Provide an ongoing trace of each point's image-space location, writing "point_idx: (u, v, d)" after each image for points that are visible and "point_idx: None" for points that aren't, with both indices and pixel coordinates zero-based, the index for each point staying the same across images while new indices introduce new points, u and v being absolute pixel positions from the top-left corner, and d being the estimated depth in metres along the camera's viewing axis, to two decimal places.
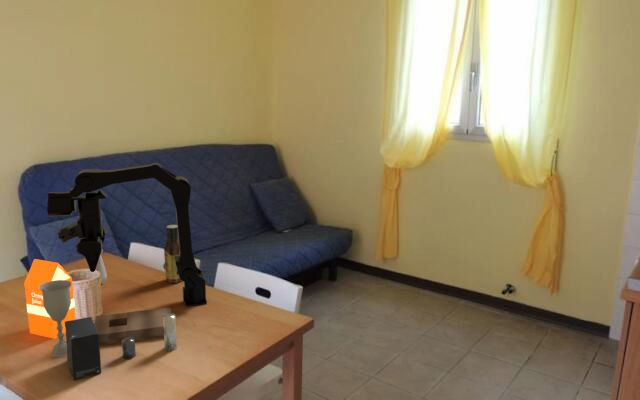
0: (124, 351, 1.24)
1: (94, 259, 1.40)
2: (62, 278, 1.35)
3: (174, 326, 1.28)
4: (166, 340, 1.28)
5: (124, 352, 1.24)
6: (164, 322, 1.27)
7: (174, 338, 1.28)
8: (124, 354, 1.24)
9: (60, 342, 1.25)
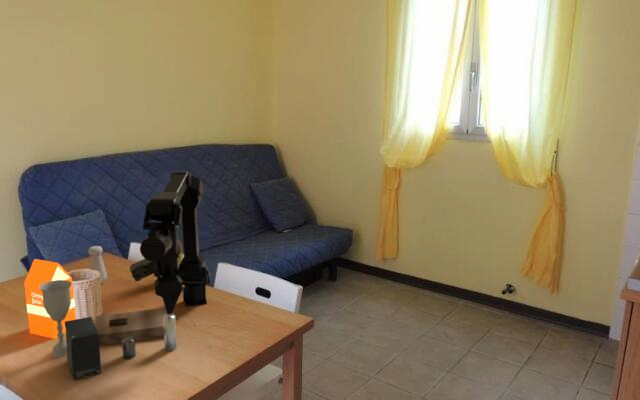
0: (124, 351, 1.24)
1: (173, 300, 1.21)
2: (62, 278, 1.35)
3: (174, 326, 1.28)
4: (166, 340, 1.28)
5: (124, 352, 1.24)
6: (164, 322, 1.27)
7: (174, 338, 1.28)
8: (124, 354, 1.24)
9: (60, 342, 1.25)
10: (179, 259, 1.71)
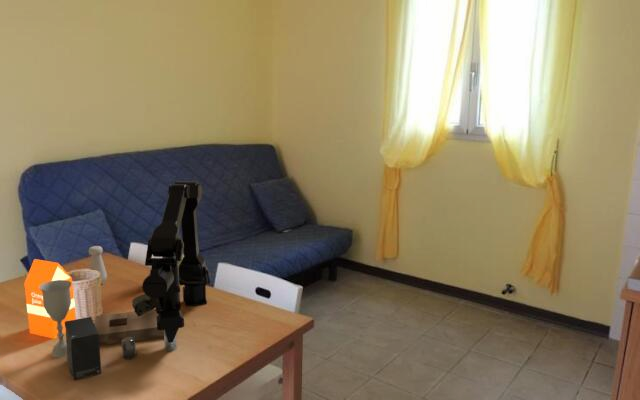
0: (124, 351, 1.24)
1: (173, 329, 1.26)
2: (62, 278, 1.35)
3: None
4: (166, 340, 1.28)
5: (124, 352, 1.24)
6: None
7: (174, 338, 1.28)
8: (124, 354, 1.24)
9: (60, 342, 1.25)
10: None
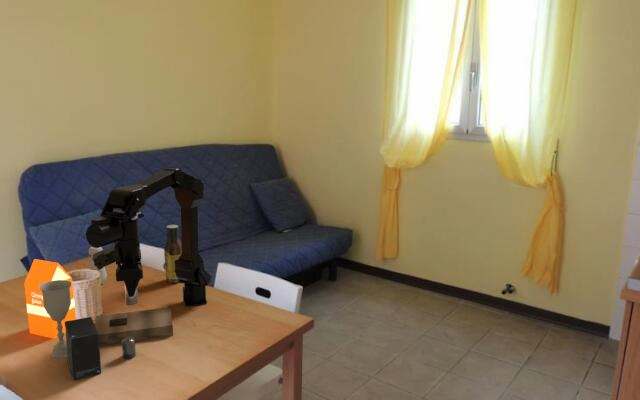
0: (124, 351, 1.24)
1: (134, 283, 1.29)
2: (62, 278, 1.35)
3: None
4: (127, 295, 1.31)
5: (124, 352, 1.24)
6: None
7: (135, 293, 1.31)
8: (124, 354, 1.24)
9: (60, 342, 1.25)
10: None
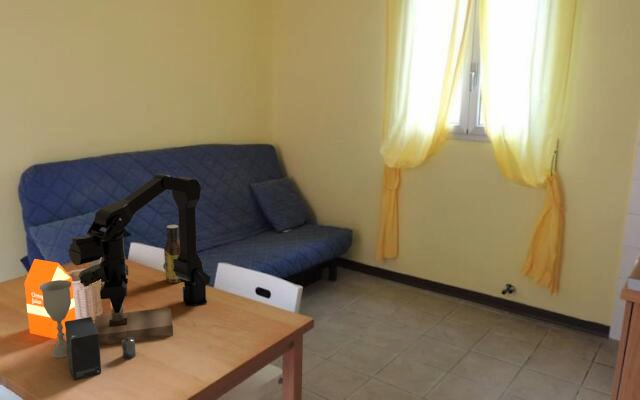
0: (124, 351, 1.24)
1: (119, 300, 1.33)
2: (62, 278, 1.35)
3: None
4: (113, 311, 1.34)
5: (124, 352, 1.24)
6: None
7: (120, 309, 1.35)
8: (124, 354, 1.24)
9: (60, 342, 1.25)
10: None
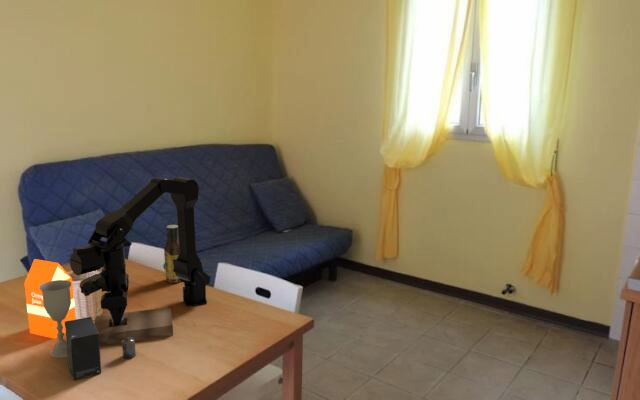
0: (124, 351, 1.24)
1: (119, 313, 1.31)
2: (62, 278, 1.35)
3: None
4: (114, 325, 1.35)
5: (124, 352, 1.24)
6: None
7: (121, 323, 1.36)
8: (124, 354, 1.24)
9: (60, 342, 1.25)
10: None
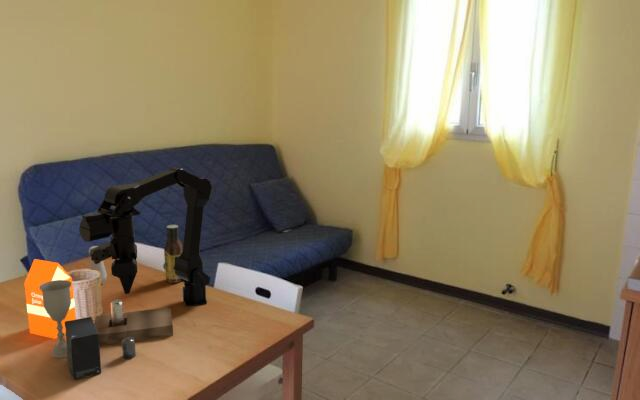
0: (124, 351, 1.24)
1: (129, 281, 1.33)
2: (62, 278, 1.35)
3: (121, 311, 1.35)
4: (114, 325, 1.35)
5: (124, 352, 1.24)
6: (111, 308, 1.35)
7: (121, 323, 1.36)
8: (124, 354, 1.24)
9: (60, 342, 1.25)
10: None
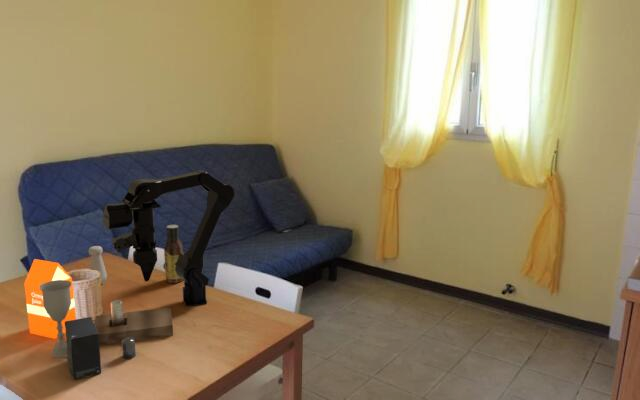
0: (124, 351, 1.24)
1: (149, 269, 1.41)
2: (62, 278, 1.35)
3: (121, 311, 1.35)
4: (114, 325, 1.35)
5: (124, 352, 1.24)
6: (111, 308, 1.35)
7: (121, 323, 1.36)
8: (124, 354, 1.24)
9: (60, 342, 1.25)
10: None
